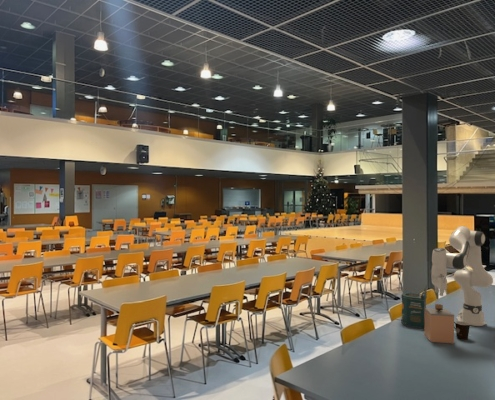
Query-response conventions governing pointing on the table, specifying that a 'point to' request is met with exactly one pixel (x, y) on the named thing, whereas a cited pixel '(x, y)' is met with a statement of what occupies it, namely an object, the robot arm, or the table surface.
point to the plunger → (438, 307)
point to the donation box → (414, 309)
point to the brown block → (439, 325)
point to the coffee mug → (462, 330)
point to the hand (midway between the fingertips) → (439, 294)
